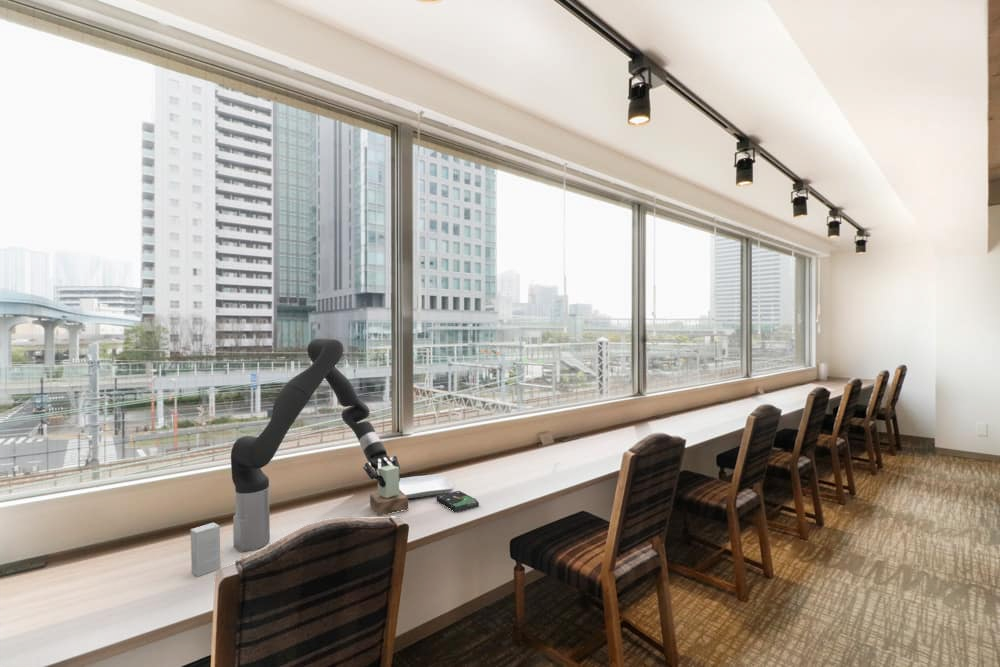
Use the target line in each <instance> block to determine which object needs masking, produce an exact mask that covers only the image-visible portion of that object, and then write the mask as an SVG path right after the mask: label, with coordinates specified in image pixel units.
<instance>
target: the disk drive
mask: <svg viewBox="0 0 1000 667" xmlns="http://www.w3.org/2000/svg"><path fill="white" fill-rule="evenodd" d="M437 501H438V502H439V503H438V502H437ZM436 502H437V503H438V504H440V503H441V505H442V504H443V505H445V506H446V507H445V506H444V507H445V508H447V507H448V508H450V509H451V510H450V509H449V510H450V511H452V510H453V511H454V512H453V511H452V512H453V513H455V512H457V513H459V511H460V512H463V510H464V511H467V509H468V510H471V508H472V509H475V507H476V508H479V507H480V502H479V501H478V499H476V498H475V497H472V496H470V495H468V494H467V493H464V491H463V492H462V491H460V490H456V491H451V492H448V493H445V494H440V495H436ZM443 505H442V506H443ZM448 508H447V509H448Z"/></svg>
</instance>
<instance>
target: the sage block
mask: <svg viewBox="0 0 1000 667" xmlns="http://www.w3.org/2000/svg"><path fill="white" fill-rule="evenodd" d="M379 469H380V473H381V476H382V477H383V479H384V481H385V483H386V485H385V487H383V488H382V487H381V486H380V485H379V483H378V482H377V493H378V495H379V496H382V497H385V498H389V497H392V496H395V495H398V494H399V477H400V469H399V467H396V466H393V465H391V466H389V465H388V466H384V467H381V468H379Z"/></svg>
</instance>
